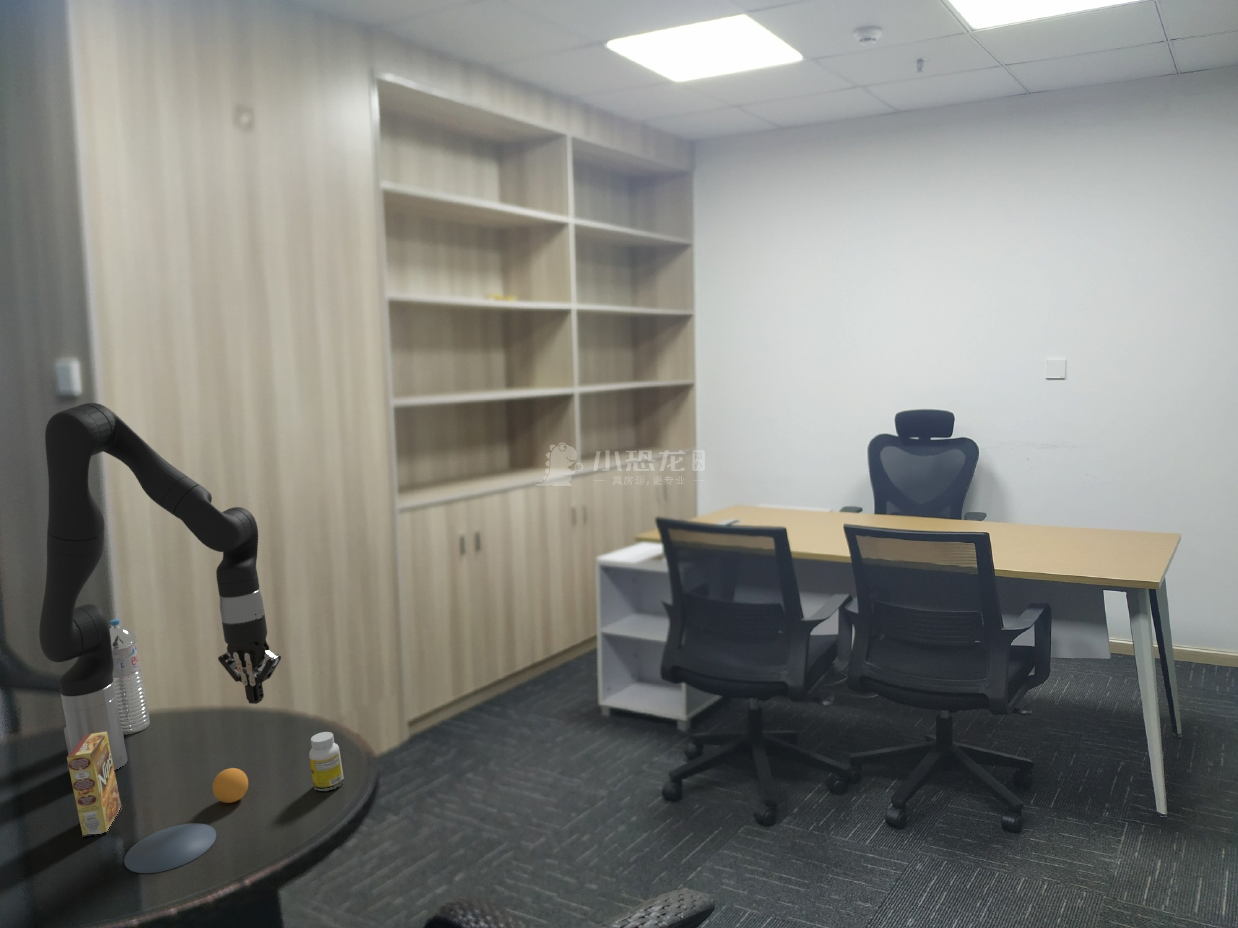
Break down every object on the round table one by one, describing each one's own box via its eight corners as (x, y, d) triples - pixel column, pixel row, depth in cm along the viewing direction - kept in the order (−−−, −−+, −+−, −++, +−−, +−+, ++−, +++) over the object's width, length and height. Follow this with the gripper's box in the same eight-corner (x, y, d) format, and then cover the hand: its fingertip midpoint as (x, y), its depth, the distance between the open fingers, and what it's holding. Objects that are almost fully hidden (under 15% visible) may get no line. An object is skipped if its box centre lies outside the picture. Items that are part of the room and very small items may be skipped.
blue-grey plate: (104, 867, 150) (104, 866, 150) (169, 820, 163) (169, 819, 163) (173, 877, 146) (173, 876, 146) (234, 828, 159) (234, 827, 159)
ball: (207, 807, 166) (202, 776, 165) (230, 790, 172) (226, 760, 171) (235, 810, 165) (230, 779, 164) (257, 793, 170) (252, 763, 169)
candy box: (107, 834, 160) (92, 752, 157) (81, 838, 159) (65, 756, 157) (122, 808, 169) (108, 730, 166) (97, 812, 168) (82, 734, 165)
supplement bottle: (317, 779, 174) (310, 731, 172) (346, 776, 174) (340, 728, 172) (310, 794, 168) (303, 744, 167) (340, 791, 169) (334, 741, 167)
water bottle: (136, 736, 199) (116, 625, 194) (108, 735, 200) (89, 625, 196) (157, 721, 205) (139, 614, 201) (131, 721, 207) (112, 614, 202)
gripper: (199, 620, 170) (213, 708, 173) (259, 623, 166) (272, 712, 169) (227, 607, 177) (240, 691, 180) (285, 609, 173) (297, 695, 176)
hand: (256, 701), depth 175 cm, fingers closed
